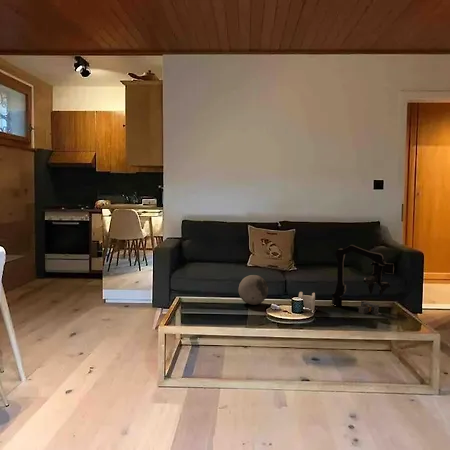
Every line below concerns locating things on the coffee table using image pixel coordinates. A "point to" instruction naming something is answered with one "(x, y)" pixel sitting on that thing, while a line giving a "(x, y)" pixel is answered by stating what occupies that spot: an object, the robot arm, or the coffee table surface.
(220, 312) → the coffee table surface
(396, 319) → the coffee table surface
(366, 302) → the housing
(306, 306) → the cable organizer
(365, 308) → the plug
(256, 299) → the moon model
